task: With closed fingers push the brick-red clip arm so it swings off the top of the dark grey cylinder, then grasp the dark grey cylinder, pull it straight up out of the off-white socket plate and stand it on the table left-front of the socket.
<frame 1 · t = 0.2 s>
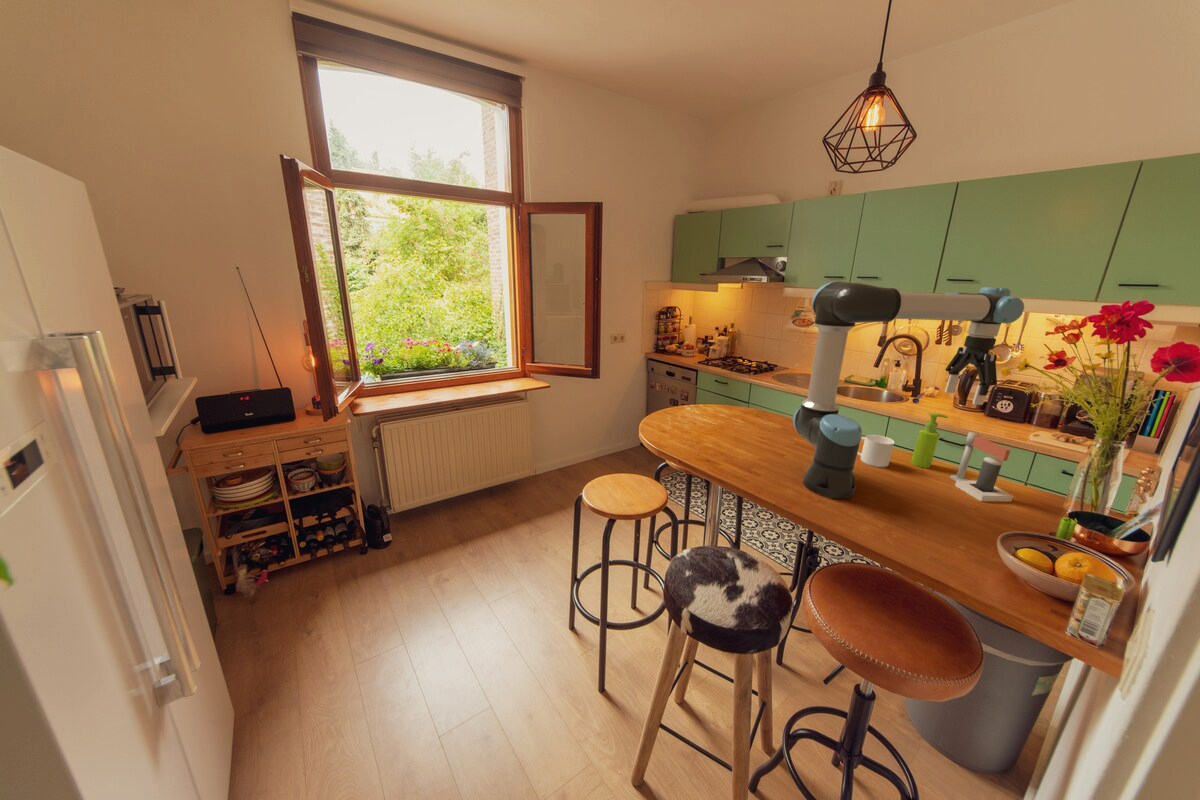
hand: (962, 398, 146), 28 cm above the breakfast bar, fingers open, 13 cm apart
dark grey cylinder: (982, 493, 140), resting in socket
socket: (982, 493, 140), on the breakfast bar
clip: (986, 445, 139), point 15 cm above the breakfast bar, hinge at 0.0°
mug: (869, 461, 162), on the breakfast bar
soap dispenser: (921, 465, 160), on the breakfast bar
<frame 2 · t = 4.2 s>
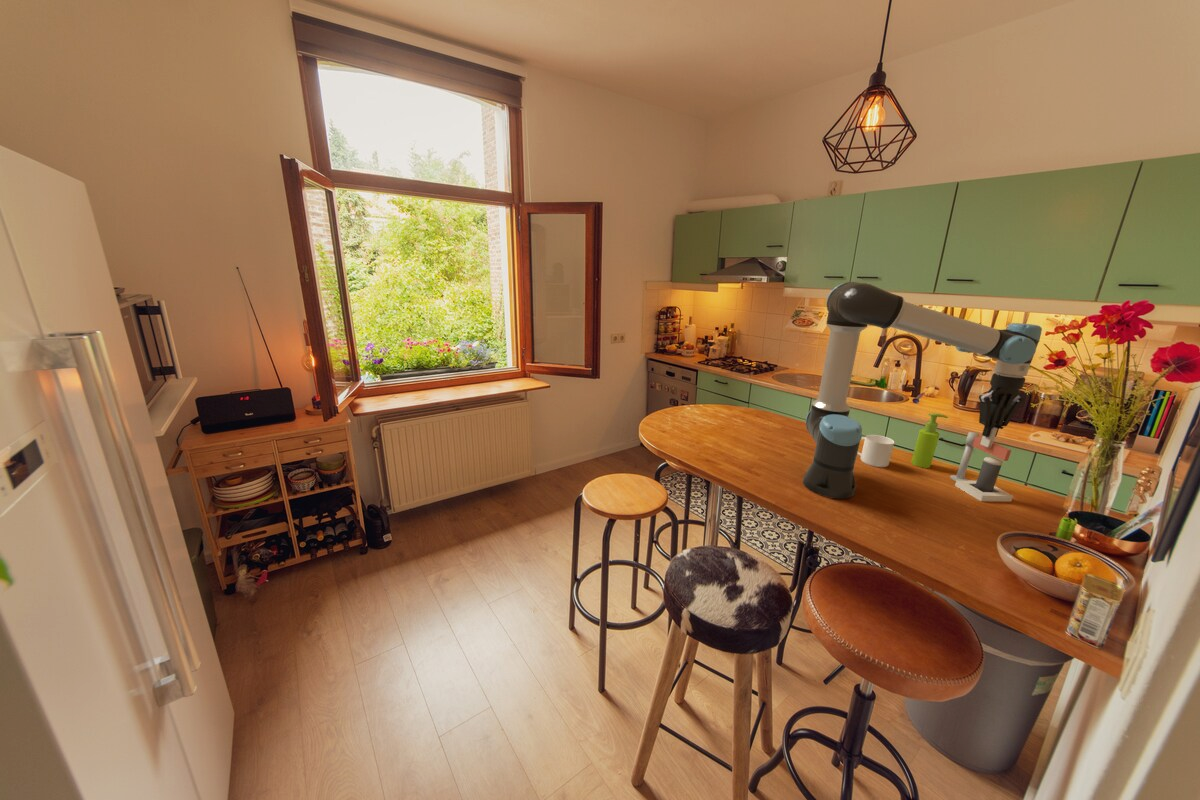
hand: (985, 445, 138), 16 cm above the breakfast bar, fingers closed
clip: (987, 445, 139), point 15 cm above the breakfast bar, hinge at 1.5°, touching gripper
everything else where it was.
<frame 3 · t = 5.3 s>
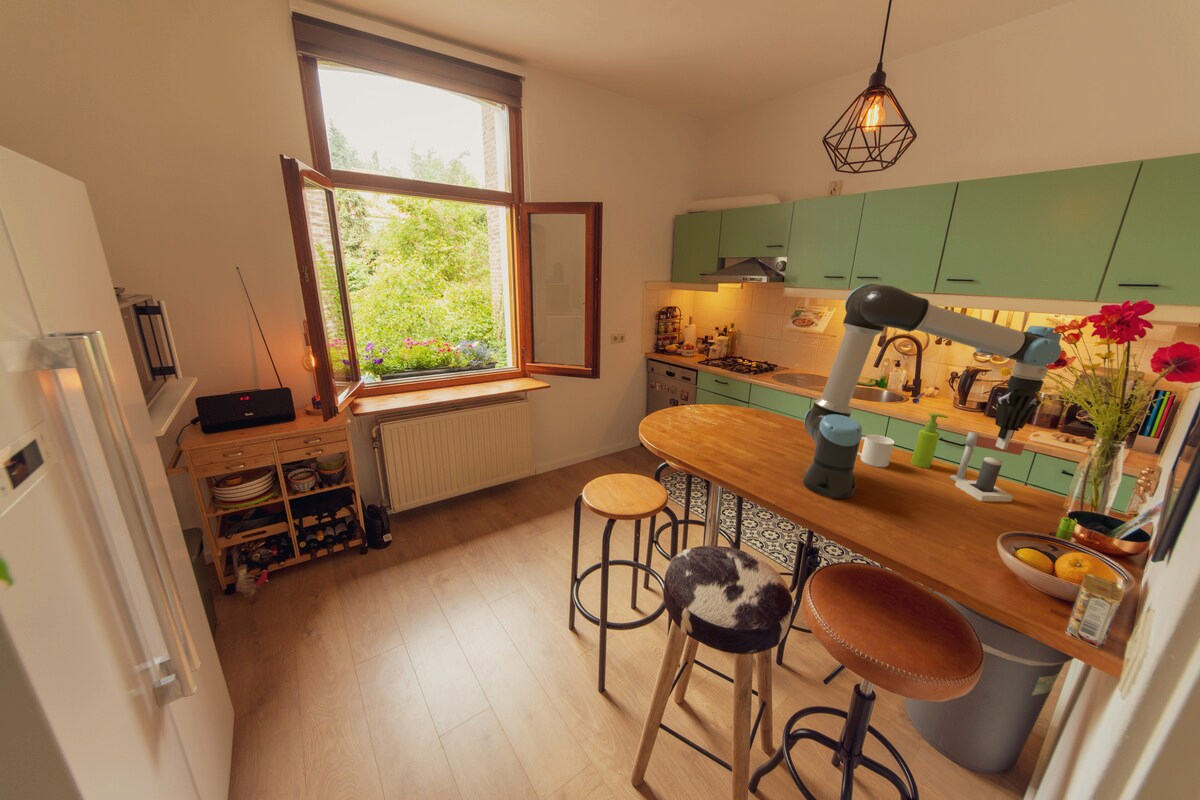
hand: (1000, 447, 139), 15 cm above the breakfast bar, fingers closed
clip: (993, 443, 141), point 15 cm above the breakfast bar, hinge at 51.9°, touching gripper
everything else where it was.
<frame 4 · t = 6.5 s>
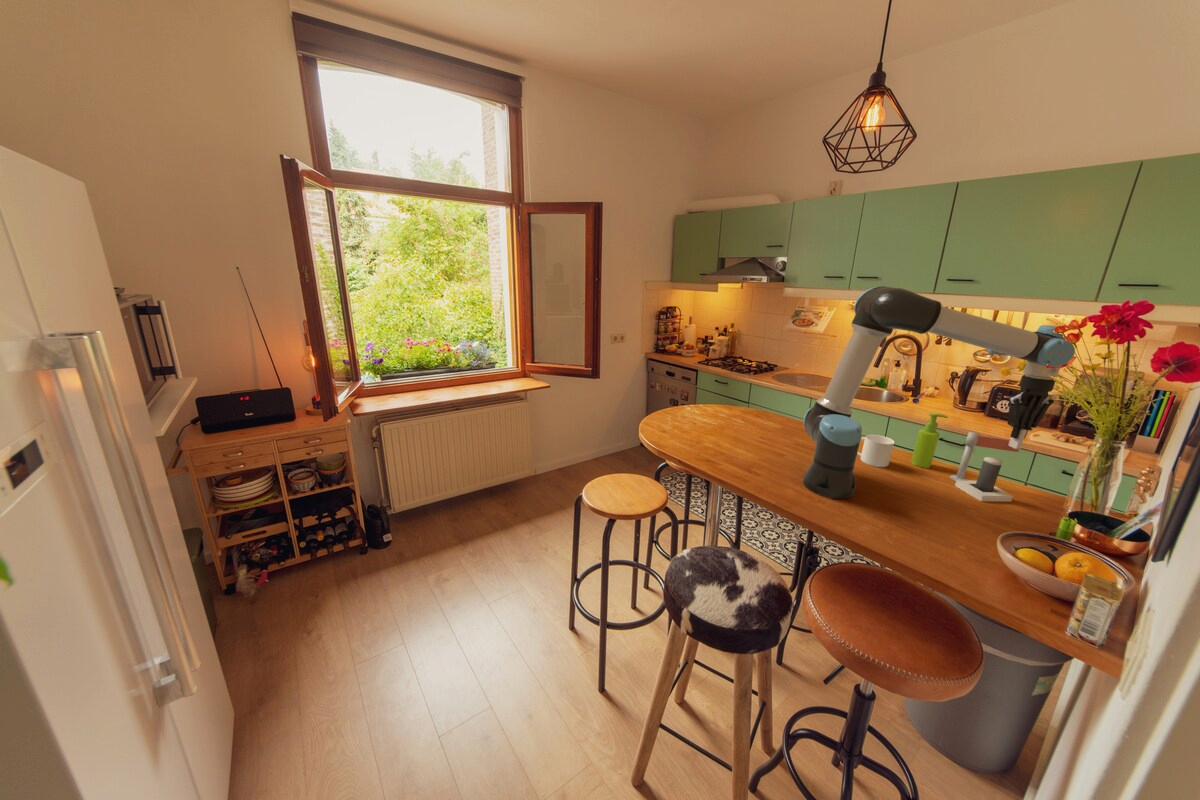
hand: (1014, 447, 139), 15 cm above the breakfast bar, fingers closed
clip: (992, 442, 142), point 15 cm above the breakfast bar, hinge at 65.6°, touching gripper
everything else where it was.
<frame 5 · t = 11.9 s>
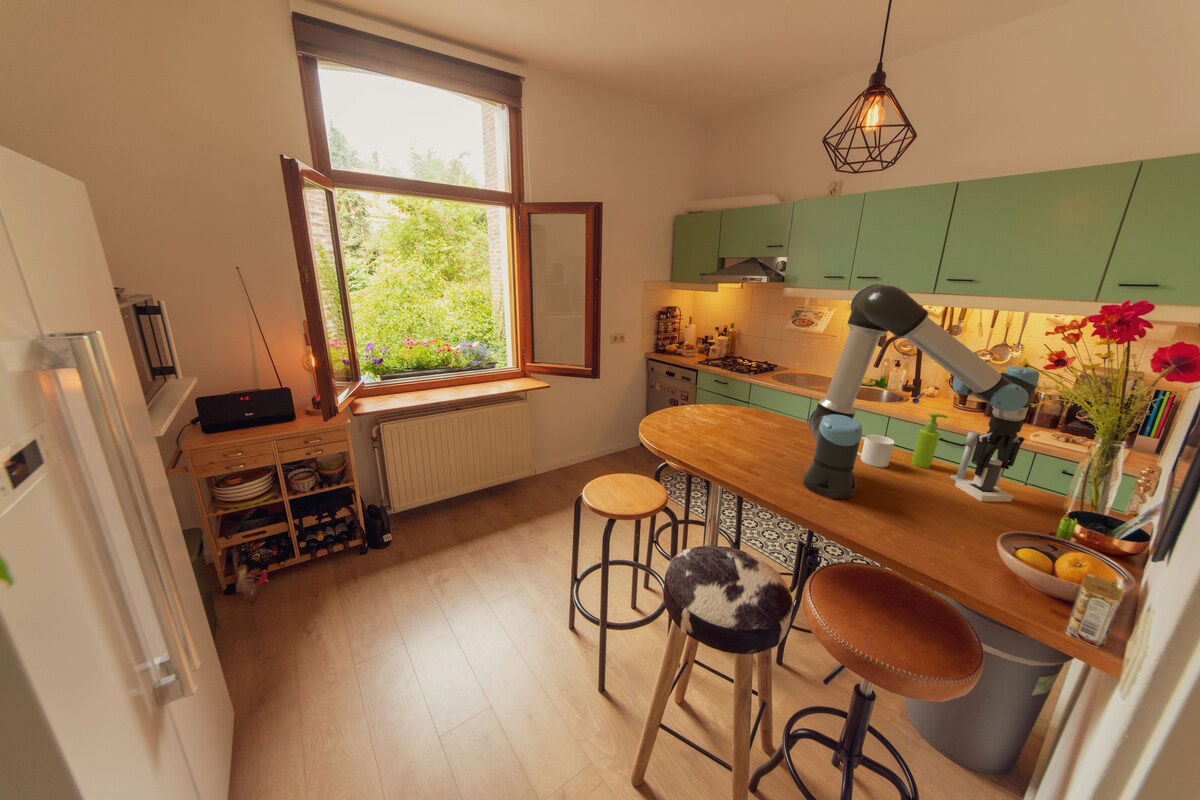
hand: (984, 484, 139), 3 cm above the breakfast bar, fingers closed on dark grey cylinder, 4 cm apart
dark grey cylinder: (981, 493, 140), resting in socket, touching gripper
clip: (992, 441, 142), point 15 cm above the breakfast bar, hinge at 68.4°
everything else where it was.
when the fingers open (5 cm above the breakfast bar, at t = 18.7 s): dark grey cylinder drops 1 cm, on the breakfast bar.
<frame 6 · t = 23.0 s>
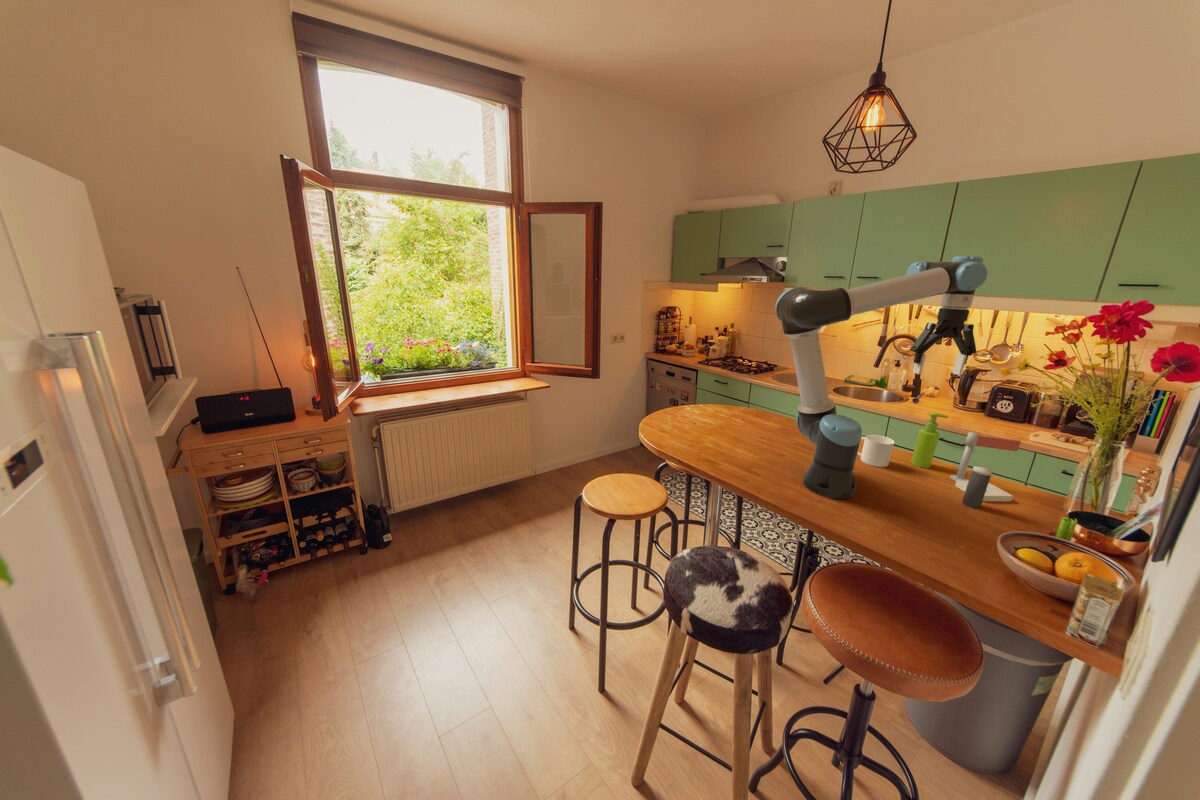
hand: (936, 373, 141), 37 cm above the breakfast bar, fingers open, 13 cm apart
dark grey cylinder: (971, 504, 133), on the breakfast bar
everything else where it was.
at the end: clip at +68° (first picture: +0°); dark grey cylinder inside the target area (0.0 cm from its centre), on the breakfast bar; dark grey cylinder tilted 0° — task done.
